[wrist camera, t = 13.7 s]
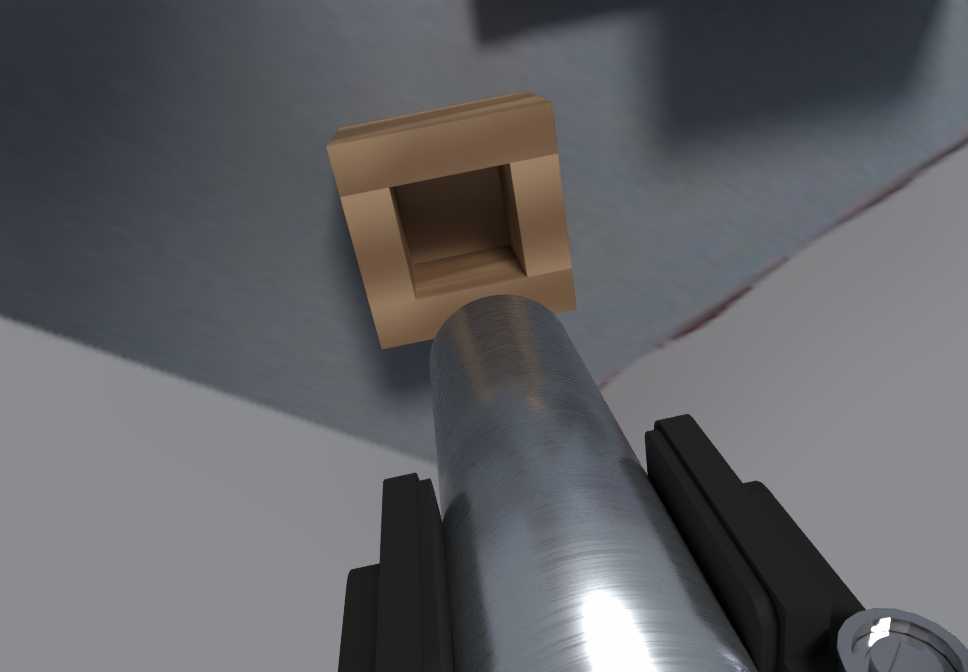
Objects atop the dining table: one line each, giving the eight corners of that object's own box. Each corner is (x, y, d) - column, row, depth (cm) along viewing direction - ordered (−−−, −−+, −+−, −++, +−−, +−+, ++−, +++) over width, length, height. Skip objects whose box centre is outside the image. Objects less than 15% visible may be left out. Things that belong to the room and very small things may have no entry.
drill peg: (416, 309, 15) (440, 792, 5) (562, 282, 16) (845, 705, 6) (443, 433, 17) (500, 987, 7) (576, 407, 17) (817, 914, 7)
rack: (339, 127, 30) (326, 147, 25) (525, 91, 31) (551, 102, 25) (385, 300, 34) (381, 349, 29) (549, 266, 35) (577, 309, 29)
